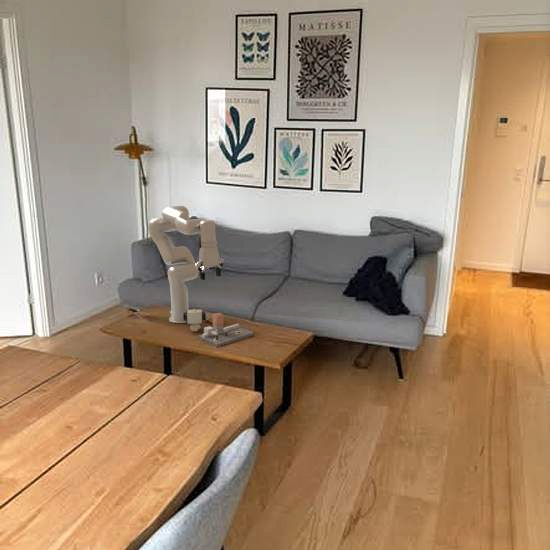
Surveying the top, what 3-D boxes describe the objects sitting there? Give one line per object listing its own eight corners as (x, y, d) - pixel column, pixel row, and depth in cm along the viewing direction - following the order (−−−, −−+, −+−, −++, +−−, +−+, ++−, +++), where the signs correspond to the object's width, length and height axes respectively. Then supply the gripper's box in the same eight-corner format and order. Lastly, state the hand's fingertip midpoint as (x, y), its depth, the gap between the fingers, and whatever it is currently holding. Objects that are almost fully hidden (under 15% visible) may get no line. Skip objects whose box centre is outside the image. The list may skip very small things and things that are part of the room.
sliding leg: (212, 332, 282) (212, 314, 280) (219, 330, 285) (218, 312, 282) (223, 337, 276) (223, 318, 273) (230, 335, 278) (229, 316, 276)
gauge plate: (198, 338, 279) (197, 327, 277) (234, 327, 295) (234, 316, 293) (216, 347, 268) (216, 336, 266) (253, 335, 283) (253, 324, 282)
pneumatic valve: (206, 331, 288) (205, 310, 285) (184, 332, 288) (182, 310, 285) (206, 327, 294) (206, 306, 291) (184, 328, 293) (183, 307, 290)
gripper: (218, 241, 282) (219, 273, 286) (190, 246, 271) (192, 279, 275) (226, 243, 276) (228, 275, 280) (198, 248, 265) (201, 282, 269)
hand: (210, 277), depth 277 cm, fingers open, 9 cm apart
